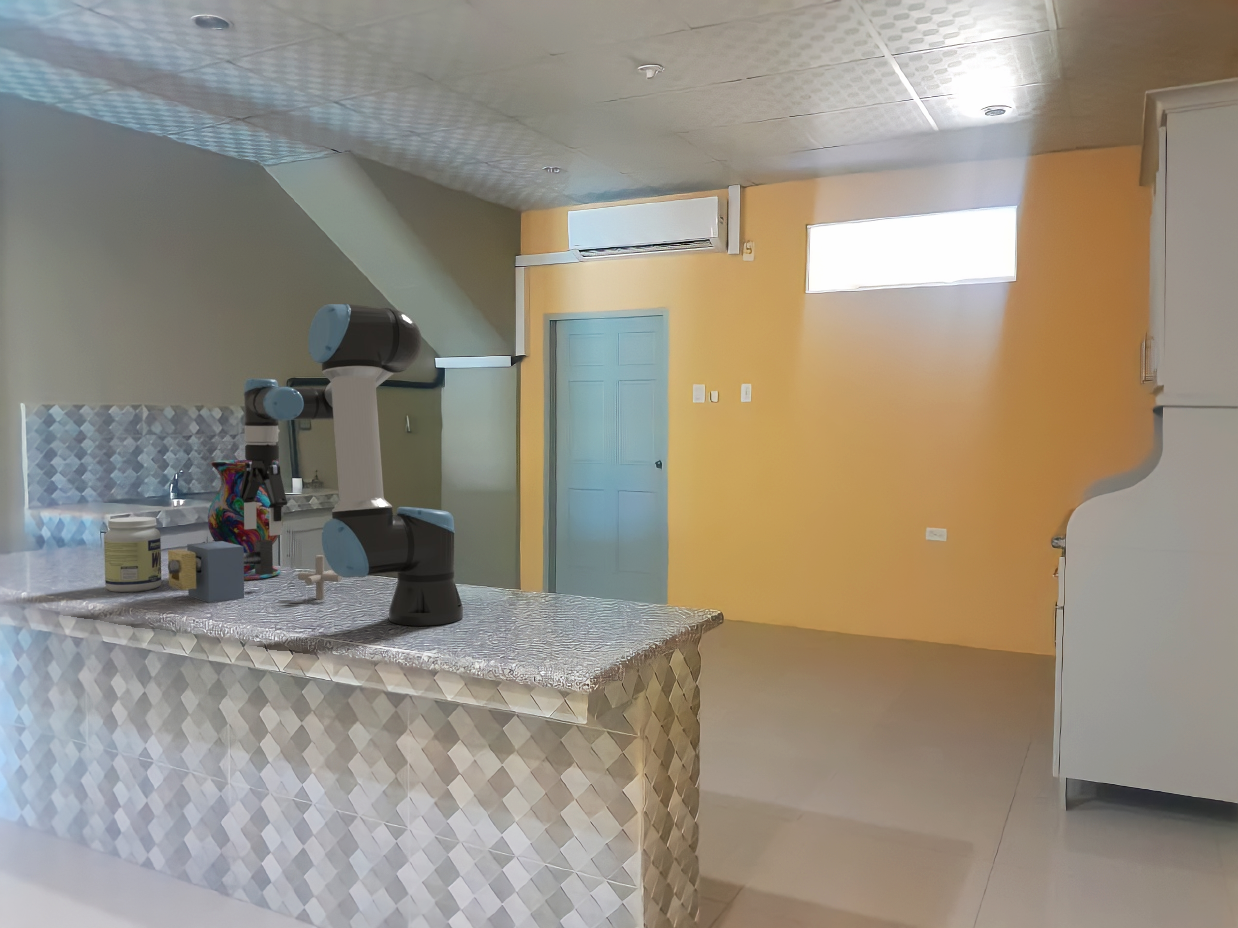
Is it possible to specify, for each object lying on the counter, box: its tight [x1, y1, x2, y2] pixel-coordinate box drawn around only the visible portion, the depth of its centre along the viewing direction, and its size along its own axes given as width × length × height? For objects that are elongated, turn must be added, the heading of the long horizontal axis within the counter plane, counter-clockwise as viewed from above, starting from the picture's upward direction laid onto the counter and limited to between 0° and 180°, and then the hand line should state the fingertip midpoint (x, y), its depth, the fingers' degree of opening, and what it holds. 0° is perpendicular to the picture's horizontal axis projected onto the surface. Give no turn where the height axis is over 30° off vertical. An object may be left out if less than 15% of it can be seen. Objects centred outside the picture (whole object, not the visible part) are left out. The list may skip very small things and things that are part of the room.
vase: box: [207, 459, 284, 581], centre depth 243 cm, size 18×18×30 cm
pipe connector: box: [297, 554, 343, 601], centre depth 215 cm, size 10×10×10 cm
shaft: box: [167, 539, 274, 575], centre depth 217 cm, size 3×23×8 cm, turn 135°
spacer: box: [167, 548, 196, 591], centre depth 211 cm, size 8×3×8 cm, turn 46°
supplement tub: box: [103, 516, 162, 593], centre depth 226 cm, size 12×12×17 cm
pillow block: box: [186, 541, 245, 604], centre depth 216 cm, size 12×8×12 cm, turn 46°
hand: (262, 531), depth 224 cm, fingers open, 13 cm apart
